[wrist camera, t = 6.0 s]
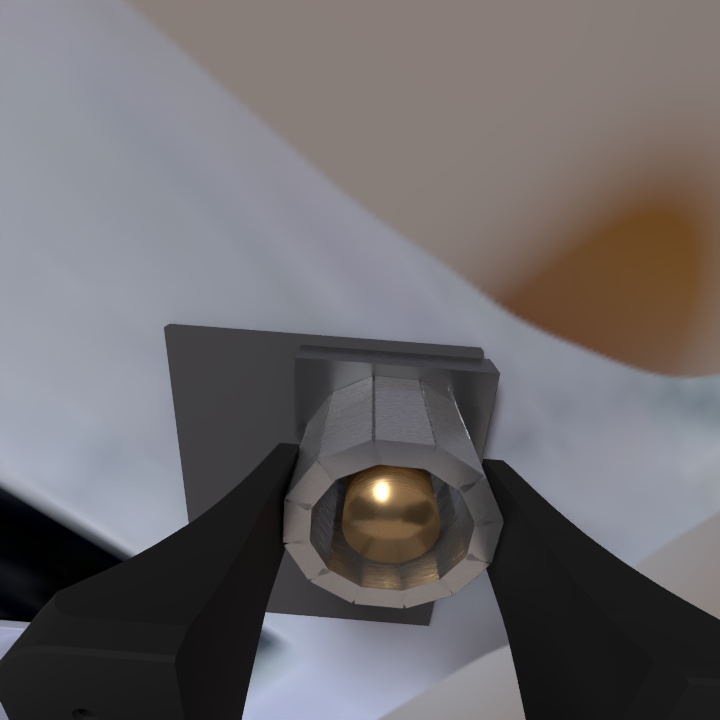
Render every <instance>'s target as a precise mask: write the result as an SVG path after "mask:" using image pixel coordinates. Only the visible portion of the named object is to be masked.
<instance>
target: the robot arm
mask: <svg viewBox="0 0 720 720" xmlns="http://www.w3.org/2000/svg"><path fill="white" fill-rule="evenodd" d="M298 454H299V444H290V443H279V444H278V445H277V446H276V447H275V448H274V449H273V450H272V451H271V452H270V453H269V454H268V455H267V456H266V458H265V459H264V460H263V461H262V462H261V463H260V464H259V465H258V466H257V467H256V468H255V469H254V470H253V471H252V472H251V473H250V474H249V475H248V476H247V477H245V478H244V479H243V480H242V481H241V482H240V483H239V484H238V485H237V486H236V487H235V488H234V489H232V490H231V491H230V492H229V493H228V494H227V495H225V496H224V497H223V498H222V499H221V500H220V501H218V502H217V503H216V504H215V505H213V506H212V507H211V508H210V509H208V510H207V511H206V512H204V513H203V514H202V515H200V516H199V517H198V518H196V519H195V520H193V521H192V522H191V523H189V524H188V525H186V526H185V527H183V528H181V529H180V530H178V531H177V532H175V533H173V534H172V535H170V536H169V537H167V538H165V539H164V540H162V541H161V542H159V543H157V544H156V545H154V546H152V547H150V548H148V549H147V550H145V551H143V552H141V553H139V554H138V555H136V556H134V557H132V558H130V559H128V560H126V561H124V562H122V563H120V564H118V565H116V566H114V567H112V568H110V569H108V570H106V571H104V572H101V573H99V574H97V575H95V576H92V577H90V578H88V579H86V580H83V581H81V582H79V583H77V584H74V585H72V586H70V587H68V588H65V589H63V590H60V591H58V592H57V593H56V594H55V595H54V596H53V597H52V598H51V600H50V601H49V602H48V603H47V604H46V605H45V606H44V607H43V608H42V609H41V611H40V612H39V613H38V614H37V615H36V617H35V618H34V619H33V620H32V622H20V621H9V620H0V720H242V715H243V711H244V706H245V701H246V696H247V692H248V687H249V683H250V678H251V673H252V669H253V664H254V660H255V655H256V651H257V646H258V642H259V638H260V633H261V629H262V625H263V620H264V616H265V612H266V609H267V605H268V602H269V598H270V595H271V592H272V589H273V586H274V583H275V580H276V576H277V573H278V570H279V567H280V564H281V561H282V558H283V555H284V552H285V549H286V547H285V546H284V543H285V542H283V531H284V500H285V497H286V494H287V490H288V487H289V484H290V480H291V477H292V474H293V470H294V467H295V464H296V460H297V457H298ZM482 468H483V471H484V473H485V476H486V478H487V480H488V483H489V485H490V488H491V490H492V493H493V495H494V498H495V500H496V502H497V505H498V507H499V510H500V512H501V515H502V517H503V519H504V520H503V522H504V523H503V526H502V530H501V533H500V536H499V539H498V543H497V546H496V549H495V553H494V556H493V559H492V562H489V564H490V565H489V566H488V567H487V568H486V569H487V572H488V575H489V578H490V581H491V584H492V587H493V590H494V593H495V596H496V599H497V602H498V605H499V608H500V611H501V614H502V618H503V621H504V625H505V628H506V632H507V635H508V640H509V644H510V649H511V652H512V657H513V662H514V666H515V670H516V675H517V680H518V684H519V689H520V694H521V699H522V703H523V708H524V713H525V718H526V720H720V620H719V619H717V618H716V617H714V616H712V615H710V614H708V613H707V612H705V611H703V610H701V609H699V608H697V607H696V606H694V605H692V604H690V603H689V602H687V601H685V600H683V599H682V598H680V597H678V596H676V595H675V594H673V593H671V592H670V591H668V590H666V589H665V588H663V587H661V586H660V585H658V584H656V583H655V582H653V581H652V580H650V579H649V578H647V577H646V576H644V575H642V574H641V573H639V572H638V571H636V570H635V569H633V568H632V567H630V566H629V565H627V564H626V563H624V562H623V561H621V560H620V559H618V558H617V557H616V556H614V555H613V554H612V553H610V552H609V551H607V550H606V549H605V548H603V547H602V546H601V545H599V544H598V543H596V542H595V541H594V540H592V539H591V538H590V537H589V536H587V535H586V534H585V533H583V532H582V531H581V530H580V529H579V528H577V527H576V526H575V525H574V524H573V523H571V522H570V521H569V520H568V519H567V518H565V517H564V516H563V515H562V514H561V513H560V512H558V511H557V510H556V509H555V508H554V507H553V506H552V505H551V504H549V503H548V502H547V501H546V500H545V499H544V498H543V497H542V496H541V495H540V494H539V493H537V492H536V491H535V490H534V489H533V488H532V487H531V486H530V485H529V484H528V483H527V482H526V481H525V480H524V479H523V478H522V477H521V476H519V475H518V474H517V473H516V472H515V471H514V470H513V469H512V468H511V467H510V466H509V465H508V464H507V463H505V462H504V461H503V460H491V459H483V463H482Z"/></svg>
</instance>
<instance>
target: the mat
mask: <svg viewBox="0 0 720 720" xmlns="http://www.w3.org/2000/svg"><path fill="white" fill-rule="evenodd" d="M164 331H165V339H166V347H167V355H168V363H169V371H170V379H171V386H172V394H173V402H174V410H175V418H176V426H177V434H178V441H179V449H180V457H181V465H182V473H183V481H184V489H185V496H186V504H187V512H188V520H189V523H191V522H192V521H193V520H195V519H196V518H198V517H199V516H200V515H202V514H203V513H204V512H206V511H207V510H208V509H210V508H211V507H212V506H213V505H215V504H216V503H217V502H218V501H220V500H221V499H222V498H223V497H224V496H225V495H227V494H228V493H229V492H230V491H231V490H232V489H234V488H235V487H236V486H237V485H238V484H239V483H240V482H241V481H242V480H243V479H244V478H245V477H247V476H248V475H249V474H250V473H251V472H252V471H253V470H254V469H255V468H256V467H257V466H258V465H259V464H260V463H261V462H262V461H263V460H264V459H265V458H266V456H267V455H268V454H269V453H270V452H271V451H272V450H273V449H274V448H275V447H276V446H277V445H278V444H279V443H290V444H294V385H295V356H296V354H297V352H298V350H299V348H300V346H301V345H312V346H325V347H338V348H351V349H364V350H377V351H390V352H403V353H416V354H429V355H442V356H455V357H468V358H481V359H483V354H484V351H483V350H482V349H481V348H477V347H464V346H451V345H438V344H425V343H412V342H399V341H386V340H373V339H360V338H347V337H334V336H321V335H308V334H295V333H282V332H269V331H256V330H243V329H230V328H217V327H204V326H191V325H178V324H169V325H167V326H165V327H164ZM310 581H311V579H307V577H306V576H305V574H304V573H303V572H302V570H301V569H300V567H299V566H298V564H297V563H296V561H295V560H294V559H293V557H292V556H291V554H290V553H289V551H288V550H287V549H285V552H284V555H283V558H282V561H281V564H280V567H279V570H278V573H277V576H276V580H275V583H274V586H273V589H272V592H271V595H270V598H269V602H268V605H267V609H266V612H270V613H282V614H294V615H306V616H318V617H330V618H341V619H353V620H365V621H377V622H389V623H401V624H413V625H425V626H429V623H430V618H431V613H432V608H433V603H434V601H430V602H427V603H423V604H419V605H416V606H412V607H409V608H406V607H405V605H403V608H393V607H383V606H372V605H362V604H355V600H354V601H353V602H352V603H351V602H349V601H347V600H345V599H343V598H341V597H339V596H337V595H335V594H333V593H331V592H329V591H328V590H326V589H324V588H322V587H320V586H318V585H316V584H314V583H312V582H310Z"/></svg>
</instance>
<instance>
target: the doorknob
mask: <svg viewBox="0 0 720 720" xmlns="http://www.w3.org/2000/svg"><path fill="white" fill-rule="evenodd" d="M371 376H372V377H373V379H374V381H375V376H383V377H393V378H403V379H413V380H419V383H420V382H421V381H422V382H424V383H425V384H427V385H428V386H430V387H431V388H432V389H434V390H435V391H437V392H438V393H440V394H441V395H443V396H444V397H446V398H447V399H449V400H450V401H451V402H453V403H454V404H455V405H456V406H457V408H458V410H459V412H460V415H461V417H462V420H463V422H464V425H465V427H466V429H467V432H468V434H469V437H470V439H471V441H472V444H473V446H474V449H475V451H476V454H477V456H478V459H479V461H481V457H482V452H483V448H484V443H485V439H486V434H487V430H488V426H489V421H490V417H491V412H492V408H493V403H494V399H495V394H496V390H497V385H498V381H499V376H500V372H499V371H498V370H497V368H496V367H495V366H494V364H493V363H492V362H491V360H490V359H481V358H468V357H455V356H442V355H429V354H416V353H403V352H390V351H377V350H364V349H351V348H338V347H325V346H312V345H301V346H300V348H299V350H298V352H297V354H296V356H295V385H294V444H299V450H300V447H301V444H302V440H303V437H304V434H305V430H306V427H307V424H308V422H309V421H310V420H311V418H312V417H313V416H314V415H315V413H316V412H317V411H318V409H319V408H320V407H321V405H322V404H323V403H324V402H325V400H326V399H327V398H328V396H329V395H330V394H333V392H334V391H336V390H339V389H341V388H344V387H346V386H349V385H351V384H354V383H356V382H359V381H361V380H364V379H366V378H369V377H371ZM436 478H437V476H435V475H434V474H432V473H430V472H429V471H427V470H426V469H420V468H410V467H400V466H389V465H379V464H378V465H375V466H372V467H369V468H367V469H364V470H361V471H358V472H355V473H353V474H350V475H347V476H344V477H341V478H339V479H337V480H338V481H339V483H341V484H343V485H344V486H346V492H345V501H344V511H343V520H342V529H343V534H344V536H345V539H346V540H347V542H348V543H349V545H350V546H351V547H352V548H353V549H354V550H355V551H356V552H358V553H359V554H361V555H362V556H364V557H366V558H369V559H372V560H374V561H379V562H385V563H398V562H405V561H408V560H412V559H414V558H417V557H419V556H421V555H422V554H424V553H425V552H426V551H428V550H429V549H430V548H431V547H432V546H433V544H434V543H435V541H436V540H437V538H438V535H439V532H440V519H439V514H438V509H437V504H436V499H435V494H434V489H433V485H432V482H433V481H434V480H435V479H436Z"/></svg>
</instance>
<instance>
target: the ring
mask: <svg viewBox="0 0 720 720" xmlns="http://www.w3.org/2000/svg"><path fill="white" fill-rule="evenodd" d="M378 464H379V465H389V466H400V467H410V468H420V469H426V470H427V471H429V472H430V473H432V474H434V475H435V476H437V478H436V479H435V480H434V481H433V482H432V485H433V489H434V494H435V499H436V504H437V509H438V514H439V519H440V532H439V535H438V538H437V540H436V541H435V543H434V544H433V546H432V547H431V548H430V549H429V550H428V551H426V552H425V553H424V554H422V555H421V556H419V557H417V558H414V559H412V560H408V561H405V562H398V563H385V562H379V561H374V560H372V559H369V558H366V557H364V556H362V555H361V554H359V553H358V552H356V551H355V550H354V549H353V548H352V547H351V546H350V545H349V543H348V542H347V540H346V539H345V536H344V534H343V529H342V520H343V511H344V501H345V492H346V486H344V485H343V484H341V483H339V481H338V480H337V479H339V478H341V477H344V476H347V475H350V474H353V473H355V472H358V471H361V470H364V469H367V468H369V467H372V466H375V465H378ZM503 520H504V519H503V517H502V515H501V512H500V510H499V507H498V505H497V502H496V500H495V498H494V495H493V493H492V490H491V488H490V485H489V483H488V480H487V478H486V476H485V473H484V471H483V468H482V466H481V463H480V461H479V459H478V456H477V454H476V451H475V449H474V446H473V444H472V441H471V439H470V437H469V434H468V432H467V429H466V427H465V425H464V422H463V420H462V417H461V415H460V412H459V410H458V408H457V406H456V405H455V404H454V403H453V402H451V401H450V400H449V399H447V398H446V397H444V396H443V395H441V394H440V393H438V392H437V391H435V390H434V389H432V388H431V387H430V386H428V385H427V384H425V383H424V382H422V381H421V382H420V383H419V380H413V379H403V378H393V377H383V376H375V381H374V379H373V377H372V376H371V377H369V378H366V379H364V380H361V381H359V382H356V383H354V384H351V385H349V386H346V387H344V388H341V389H339V390H336V391H334V392H333V394H330V395H329V396H328V398H327V399H326V400H325V402H324V403H323V404H322V405H321V407H320V408H319V409H318V411H317V412H316V413H315V415H314V416H313V417H312V418H311V420H310V421H309V422H308V424H307V427H306V430H305V434H304V437H303V440H302V444H301V447H300V450H299V454H298V457H297V460H296V464H295V467H294V470H293V474H292V477H291V480H290V484H289V487H288V490H287V494H286V497H285V500H284V531H283V542H285V543H284V546H285V547H286V549H287V550H288V551H289V553H290V554H291V556H292V557H293V559H294V560H295V561H296V563H297V564H298V566H299V567H300V569H301V570H302V572H303V573H304V574H305V576H306V577H307V579H311V581H310V582H312V583H314V584H316V585H318V586H320V587H322V588H324V589H326V590H328V591H329V592H331V593H333V594H335V595H337V596H339V597H341V598H343V599H345V600H347V601H349V602H351V603H352V602H353V601H354V600H355V604H362V605H372V606H383V607H393V608H403V605H405V607H406V608H409V607H412V606H416V605H419V604H423V603H427V602H430V601H434V600H437V599H441V598H445V597H448V596H452V592H453V593H455V594H456V593H457V592H458V591H459V590H461V589H462V588H463V587H464V586H465V585H467V584H468V583H469V582H470V581H471V580H473V579H474V578H475V577H476V576H477V575H478V574H480V573H481V572H482V571H483V570H484V569H486V568H487V567H488V566H489V565H490V564H489V562H492V559H493V556H494V553H495V549H496V546H497V543H498V539H499V536H500V533H501V530H502V526H503V523H504V522H503Z"/></svg>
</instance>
